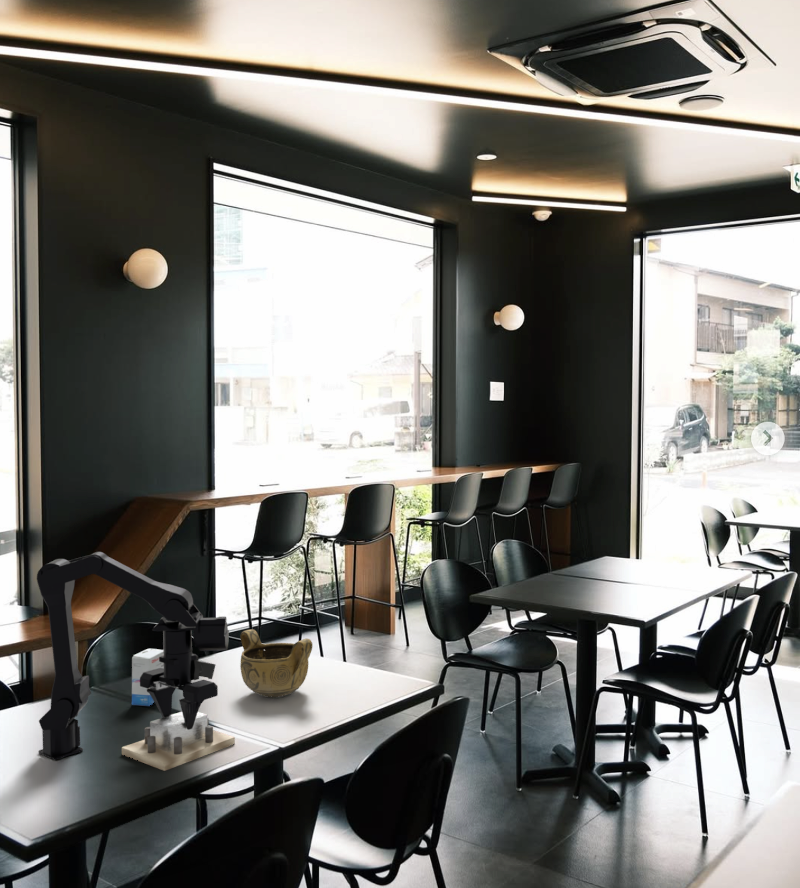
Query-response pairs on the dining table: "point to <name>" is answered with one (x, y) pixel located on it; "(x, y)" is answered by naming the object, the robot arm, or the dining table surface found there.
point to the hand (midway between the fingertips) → (178, 725)
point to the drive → (177, 730)
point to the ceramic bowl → (273, 665)
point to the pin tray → (177, 759)
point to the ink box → (141, 664)
